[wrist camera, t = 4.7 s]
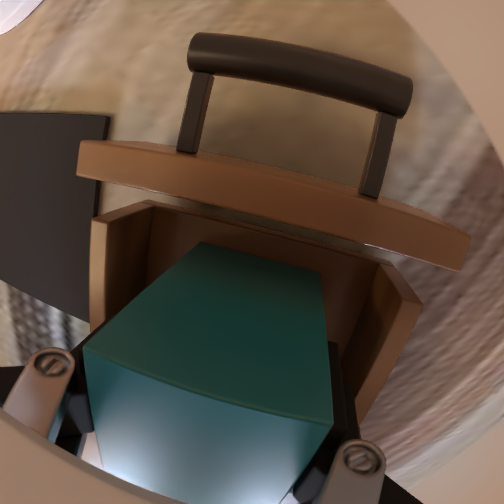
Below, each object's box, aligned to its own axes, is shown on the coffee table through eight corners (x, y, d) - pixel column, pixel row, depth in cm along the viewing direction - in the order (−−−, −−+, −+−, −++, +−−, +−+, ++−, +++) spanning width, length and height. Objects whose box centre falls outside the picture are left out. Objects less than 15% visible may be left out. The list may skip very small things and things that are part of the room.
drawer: (165, 53, 12) (109, 18, 7) (442, 116, 11) (502, 103, 6) (126, 386, 18) (90, 436, 13) (318, 441, 17) (317, 504, 12)
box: (184, 340, 15) (102, 470, 7) (199, 240, 13) (80, 345, 5) (287, 369, 14) (266, 522, 7) (320, 271, 13) (335, 424, 5)
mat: (-15, 267, 19) (-18, 269, 18) (-11, 113, 15) (-15, 113, 15) (94, 321, 18) (91, 324, 17) (110, 116, 14) (106, 116, 14)
